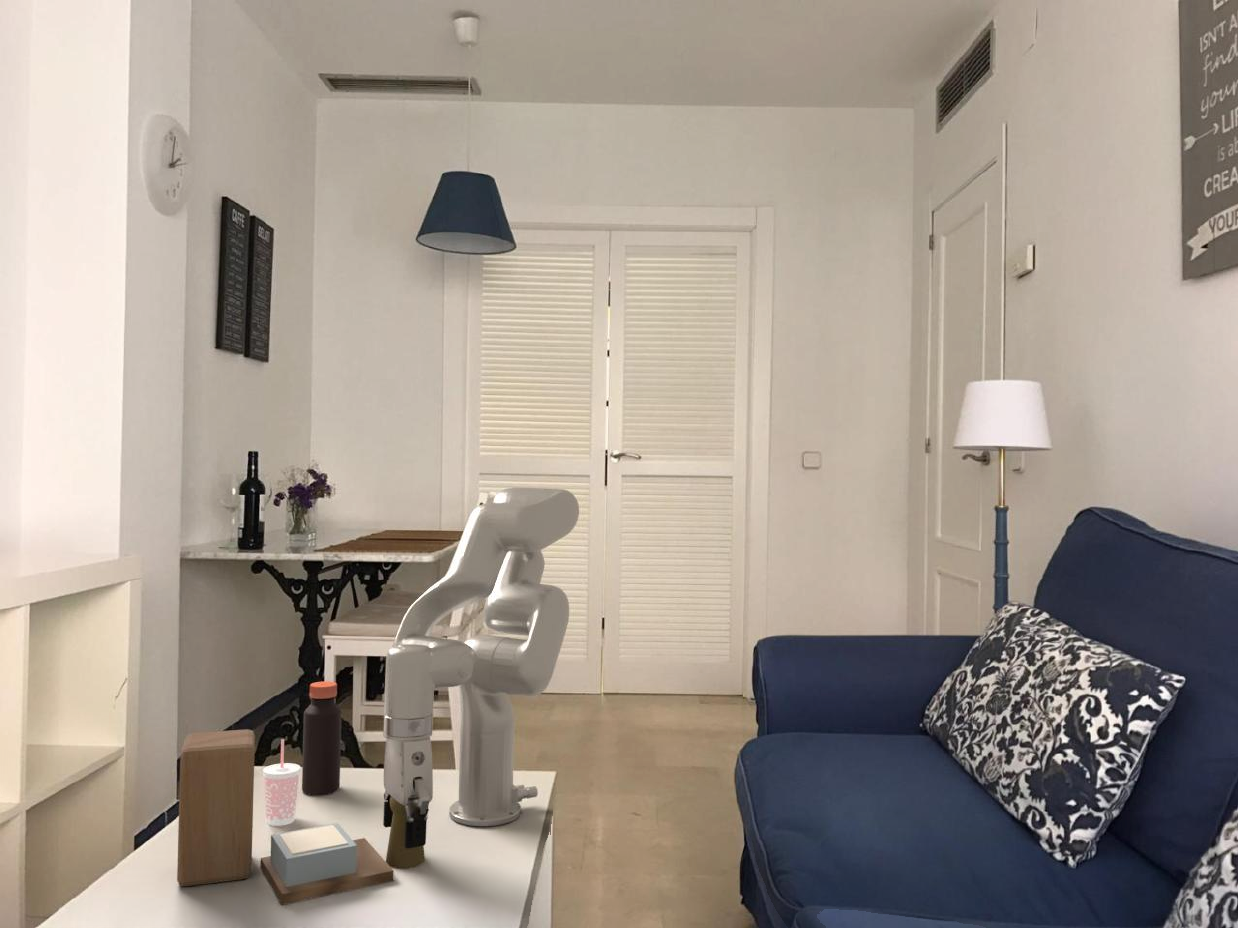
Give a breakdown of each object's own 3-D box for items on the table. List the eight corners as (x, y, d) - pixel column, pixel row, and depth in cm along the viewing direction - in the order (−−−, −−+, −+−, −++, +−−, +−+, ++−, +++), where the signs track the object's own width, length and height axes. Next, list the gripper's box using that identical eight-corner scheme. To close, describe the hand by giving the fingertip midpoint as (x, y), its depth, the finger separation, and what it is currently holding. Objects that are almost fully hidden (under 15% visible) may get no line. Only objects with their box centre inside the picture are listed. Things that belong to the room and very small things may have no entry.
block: (182, 862, 145) (185, 731, 145) (251, 854, 148) (255, 726, 148) (176, 889, 135) (180, 750, 136) (251, 880, 139) (254, 744, 139)
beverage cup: (256, 819, 163) (258, 738, 163) (290, 811, 167) (292, 732, 167) (269, 830, 158) (271, 746, 158) (305, 821, 162) (307, 740, 162)
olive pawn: (415, 870, 144) (417, 798, 144) (378, 866, 145) (380, 794, 145) (431, 854, 150) (432, 785, 150) (395, 850, 151) (397, 781, 151)
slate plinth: (337, 848, 148) (337, 821, 148) (356, 872, 139) (356, 843, 139) (270, 861, 142) (271, 833, 142) (286, 886, 134) (286, 857, 134)
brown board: (364, 847, 152) (364, 837, 152) (393, 880, 140) (393, 870, 140) (260, 867, 143) (260, 857, 143) (281, 904, 132) (282, 894, 132)
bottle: (333, 796, 174) (336, 688, 175) (296, 796, 174) (299, 687, 174) (343, 784, 181) (346, 680, 181) (308, 783, 181) (311, 679, 181)
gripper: (452, 735, 142) (447, 850, 142) (411, 710, 157) (407, 814, 156) (403, 741, 138) (399, 859, 138) (367, 715, 153) (363, 821, 152)
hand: (403, 835), depth 147 cm, fingers open, 9 cm apart
